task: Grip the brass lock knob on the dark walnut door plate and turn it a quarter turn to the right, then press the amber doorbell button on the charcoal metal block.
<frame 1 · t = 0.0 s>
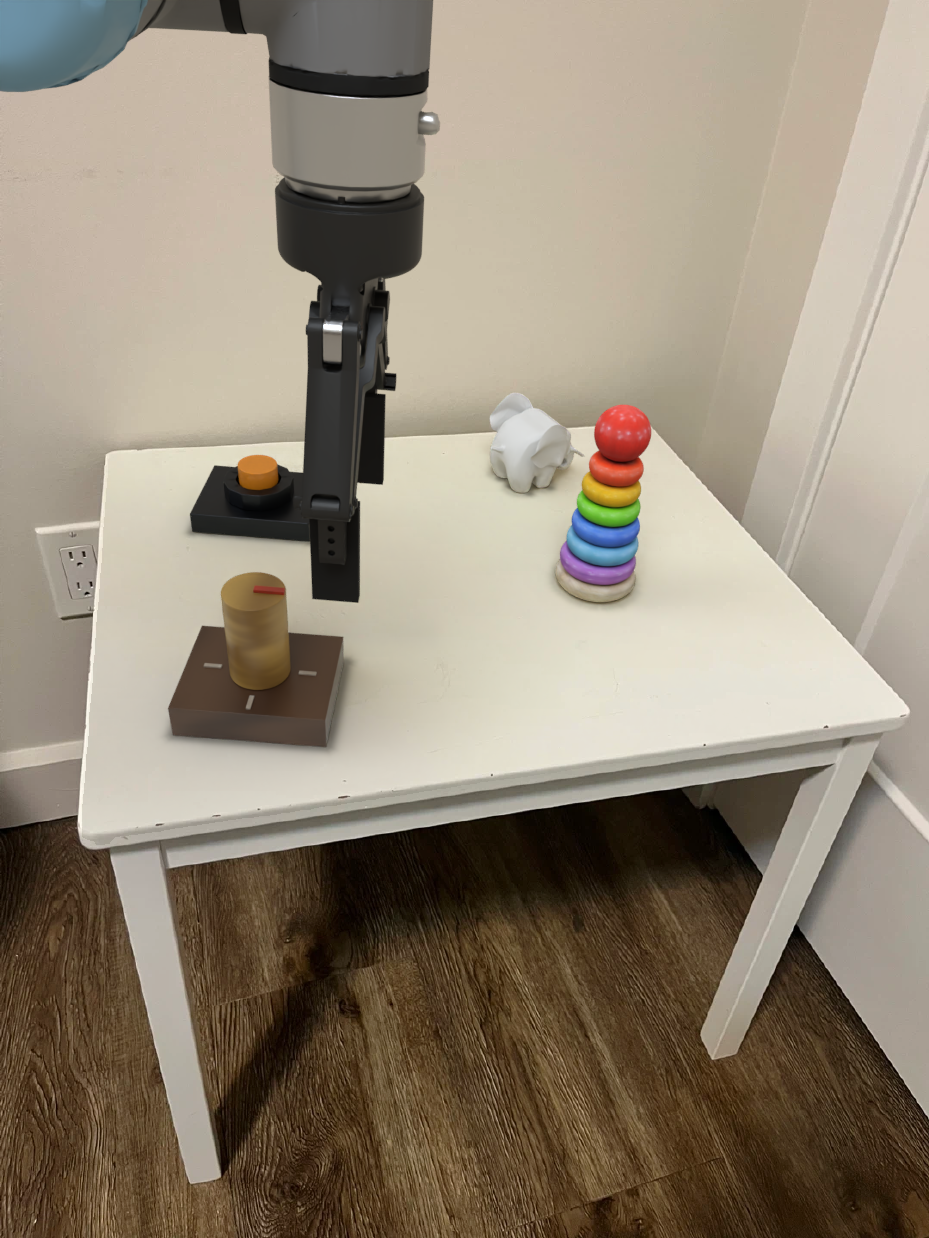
hand: (351, 534, 59), 20 cm above the table, tool pointing down, fingers open, 13 cm apart
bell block: (261, 511, 97), on the table
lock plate: (262, 697, 75), on the table
lock knob: (256, 630, 71), point 7 cm above the table, hinge at 0.0°
stacking toy: (593, 583, 91), on the table
bell button: (258, 472, 94), point 5 cm above the table, slide at 0.1 cm
elephant figurine: (529, 478, 107), on the table
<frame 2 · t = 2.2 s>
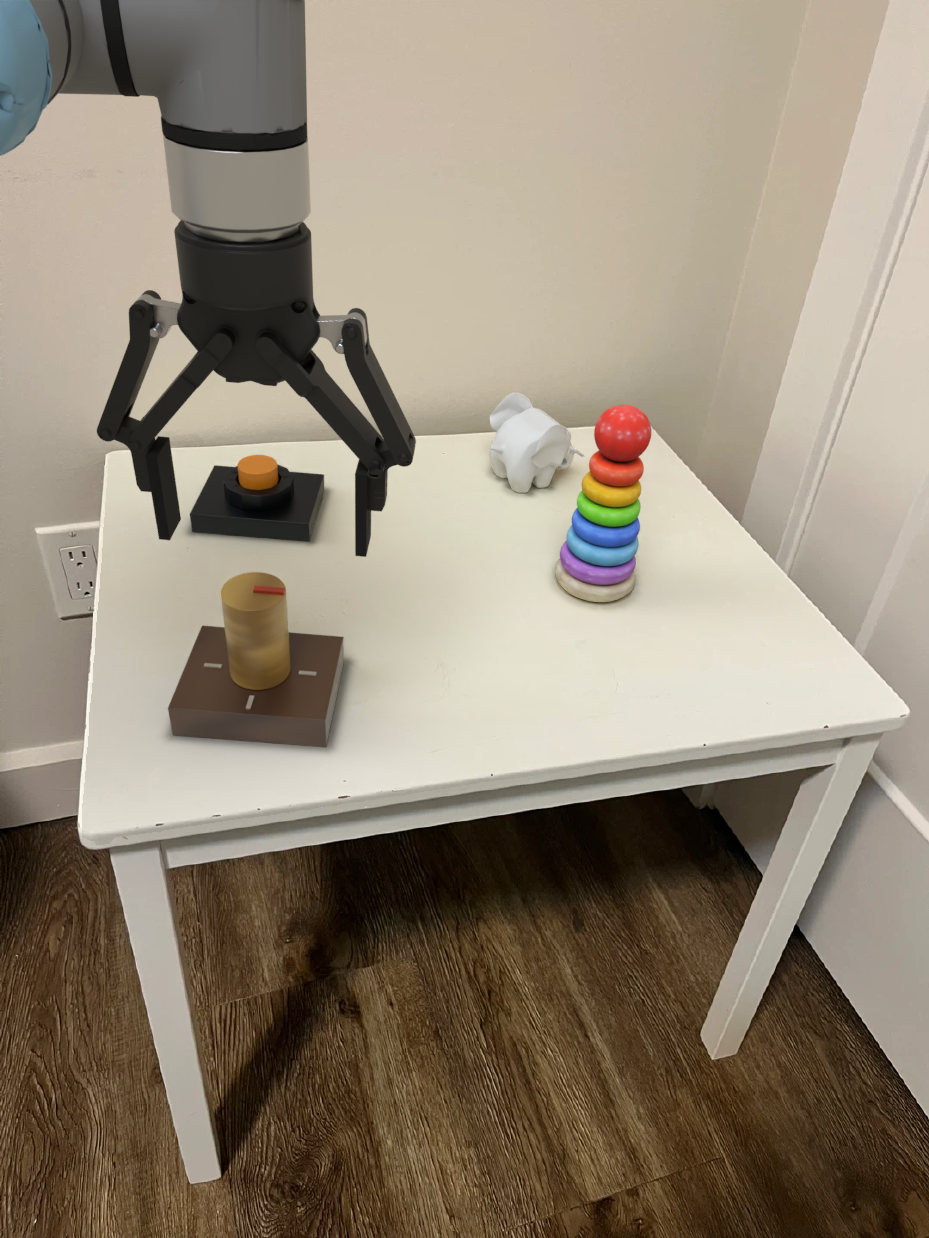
hand: (266, 538, 64), 17 cm above the table, tool pointing down, fingers open, 13 cm apart
nothing on the table moved.
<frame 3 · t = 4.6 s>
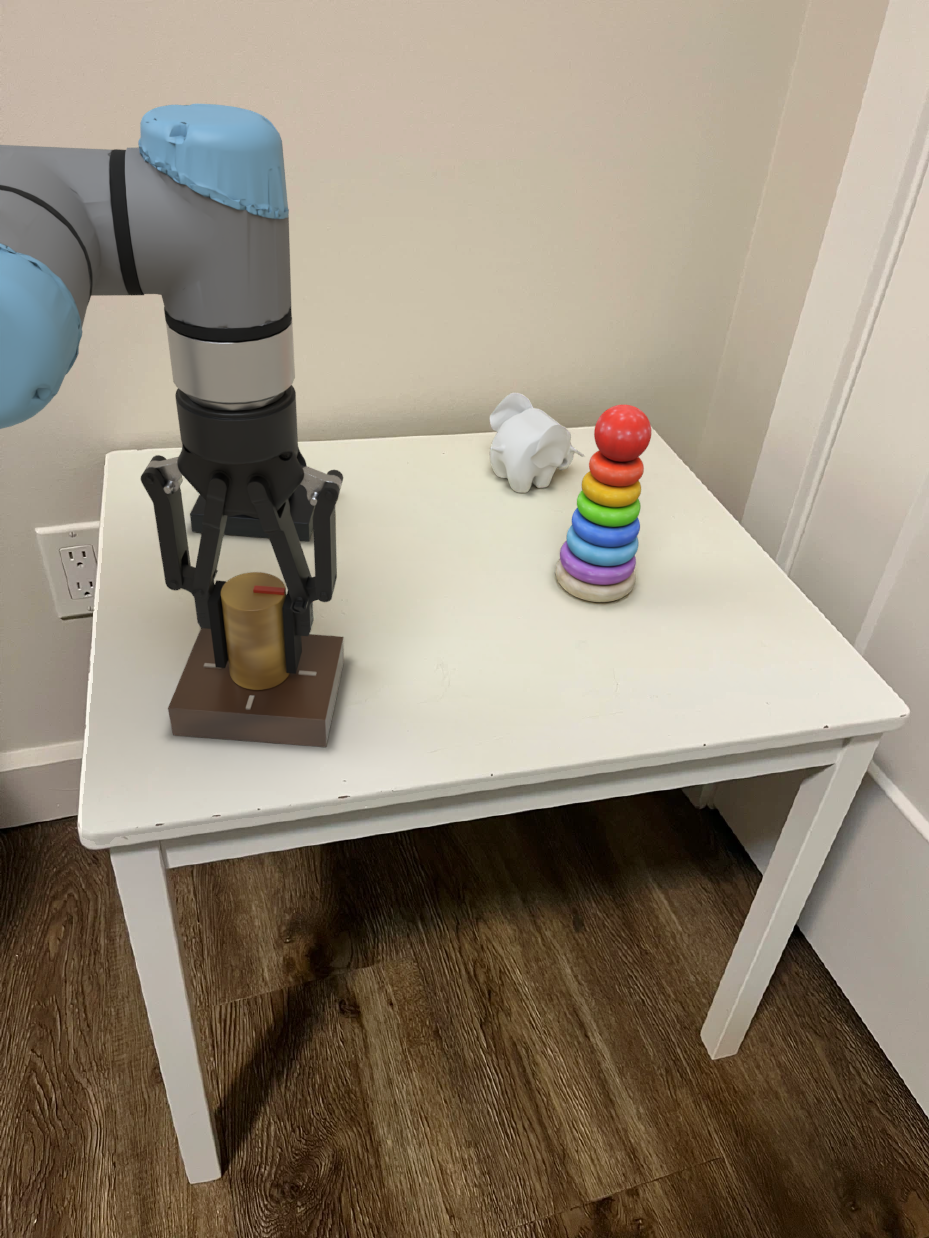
hand: (259, 658, 73), 4 cm above the table, tool pointing down, fingers closed on lock knob, 5 cm apart
lock knob: (256, 630, 71), point 7 cm above the table, hinge at 0.0°, touching gripper
everything else where it was.
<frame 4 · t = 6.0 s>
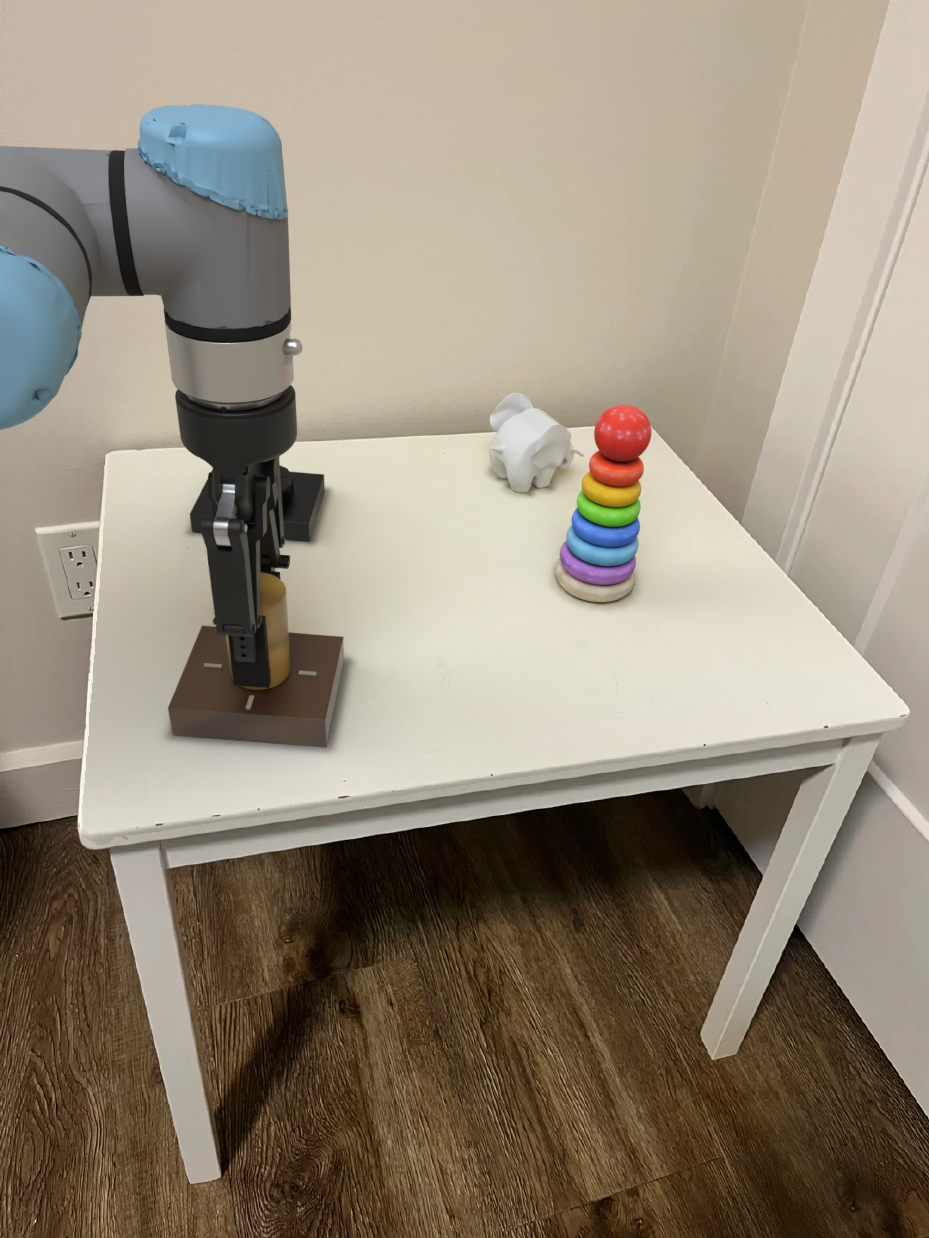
hand: (259, 659, 73), 4 cm above the table, tool pointing down, fingers open, 5 cm apart
lock knob: (256, 630, 71), point 7 cm above the table, hinge at -89.5°
everything else where it was.
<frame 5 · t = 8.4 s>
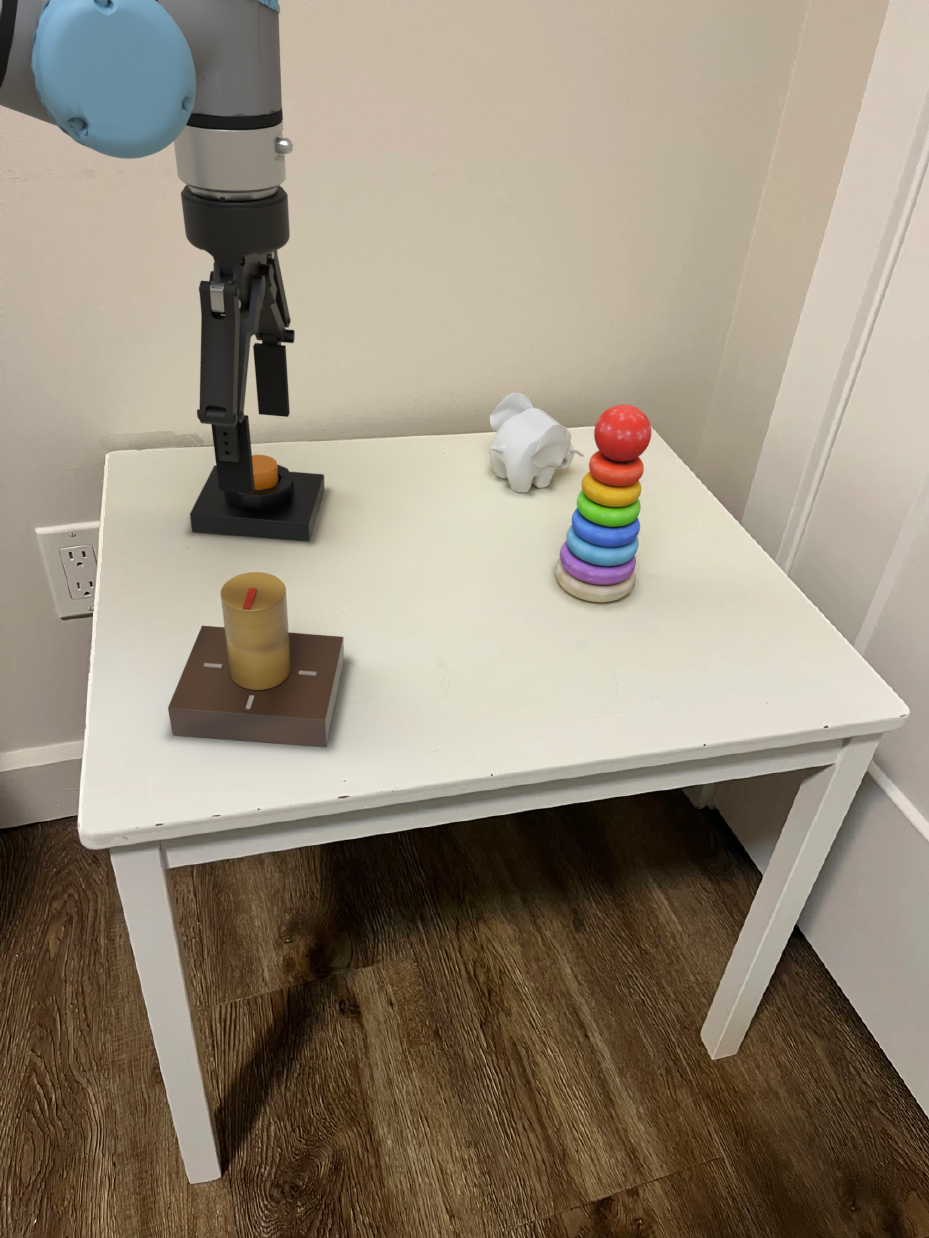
hand: (257, 449, 79), 14 cm above the table, tool pointing down, fingers open, 13 cm apart
nothing on the table moved.
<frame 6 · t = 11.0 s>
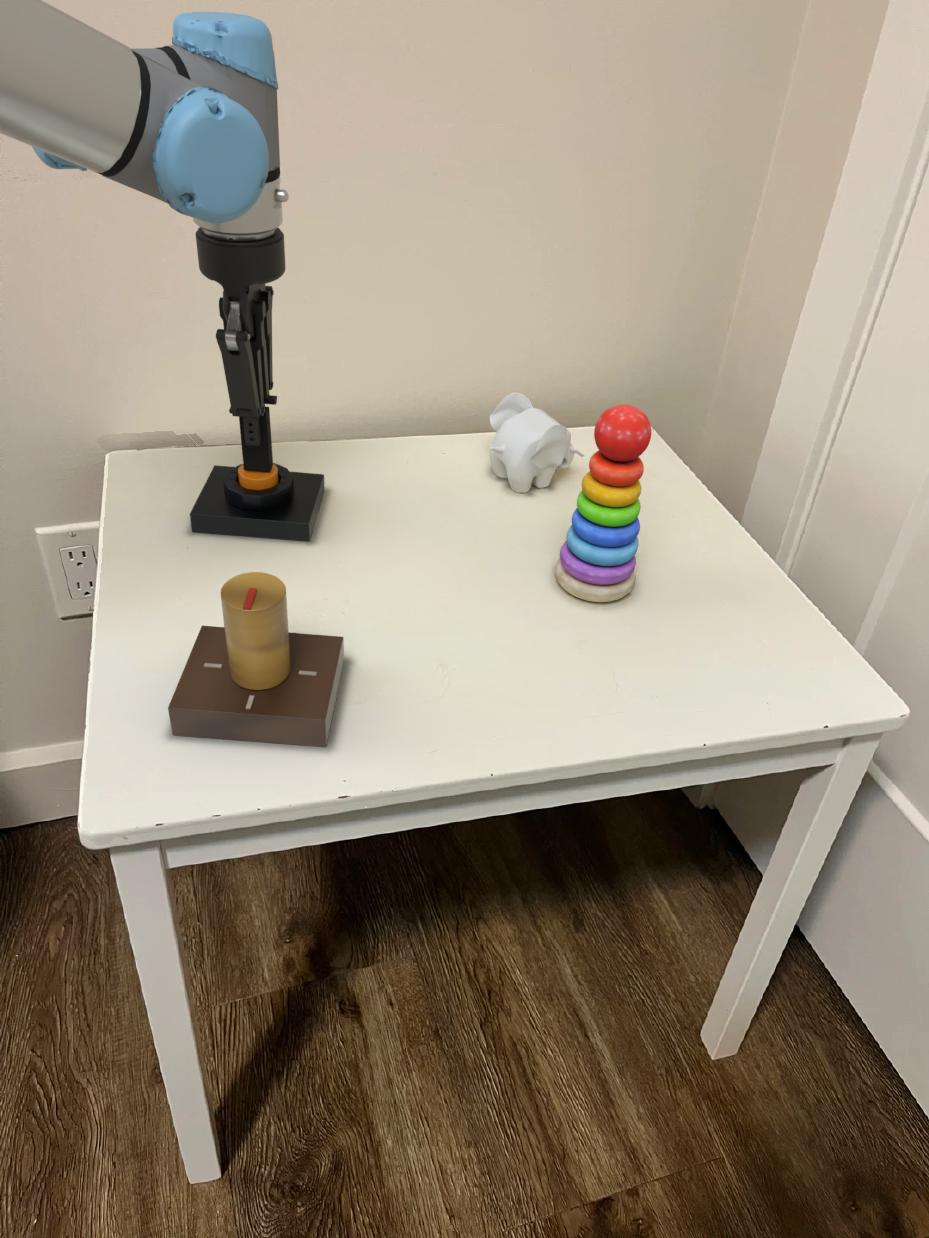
hand: (258, 467, 94), 5 cm above the table, tool pointing down, fingers closed
bell button: (258, 478, 94), point 4 cm above the table, slide at -0.5 cm, touching gripper
everything else where it was.
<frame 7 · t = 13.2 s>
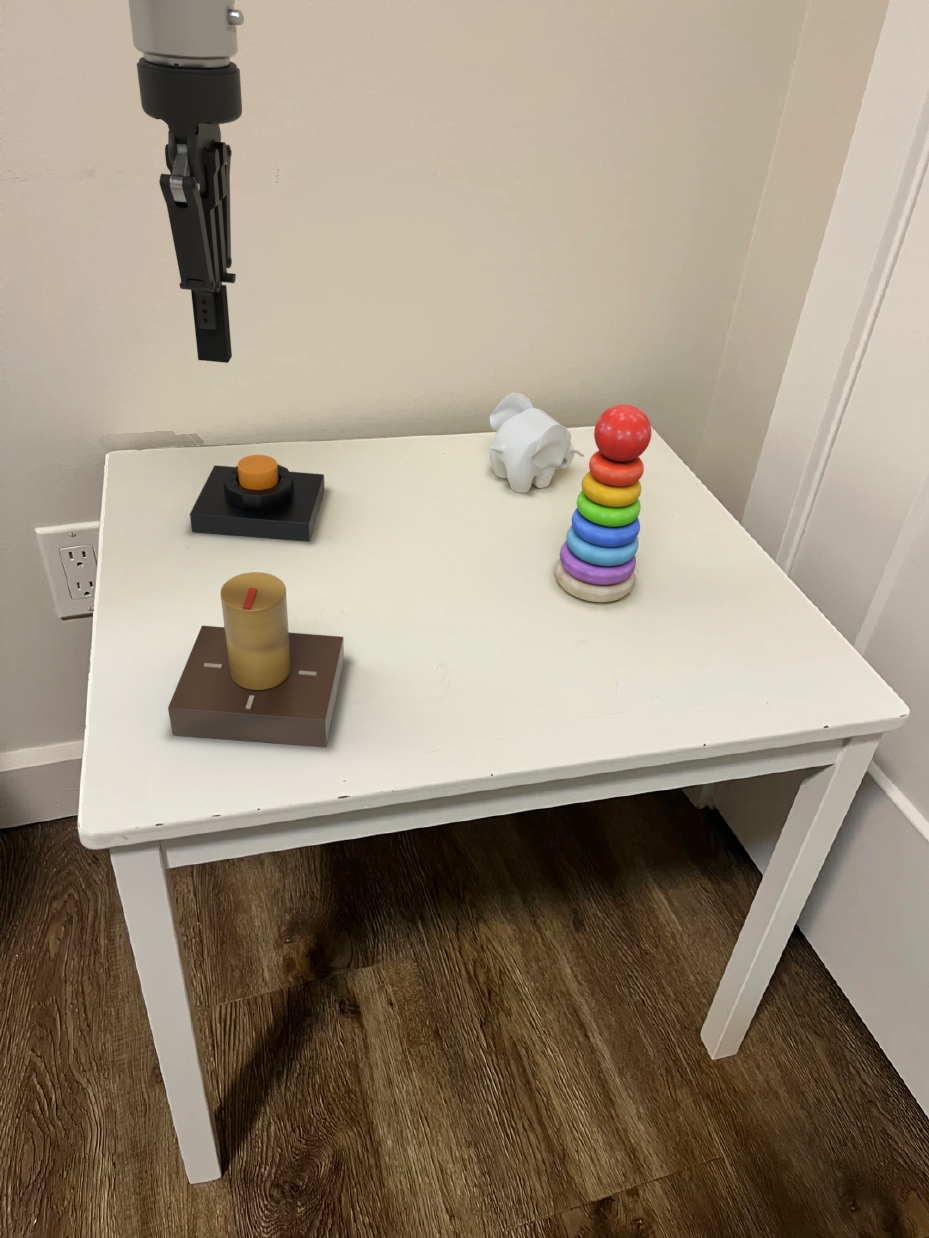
hand: (215, 358, 83), 18 cm above the table, tool pointing down, fingers closed
bell button: (258, 472, 94), point 5 cm above the table, slide at 0.1 cm
everything else where it was.
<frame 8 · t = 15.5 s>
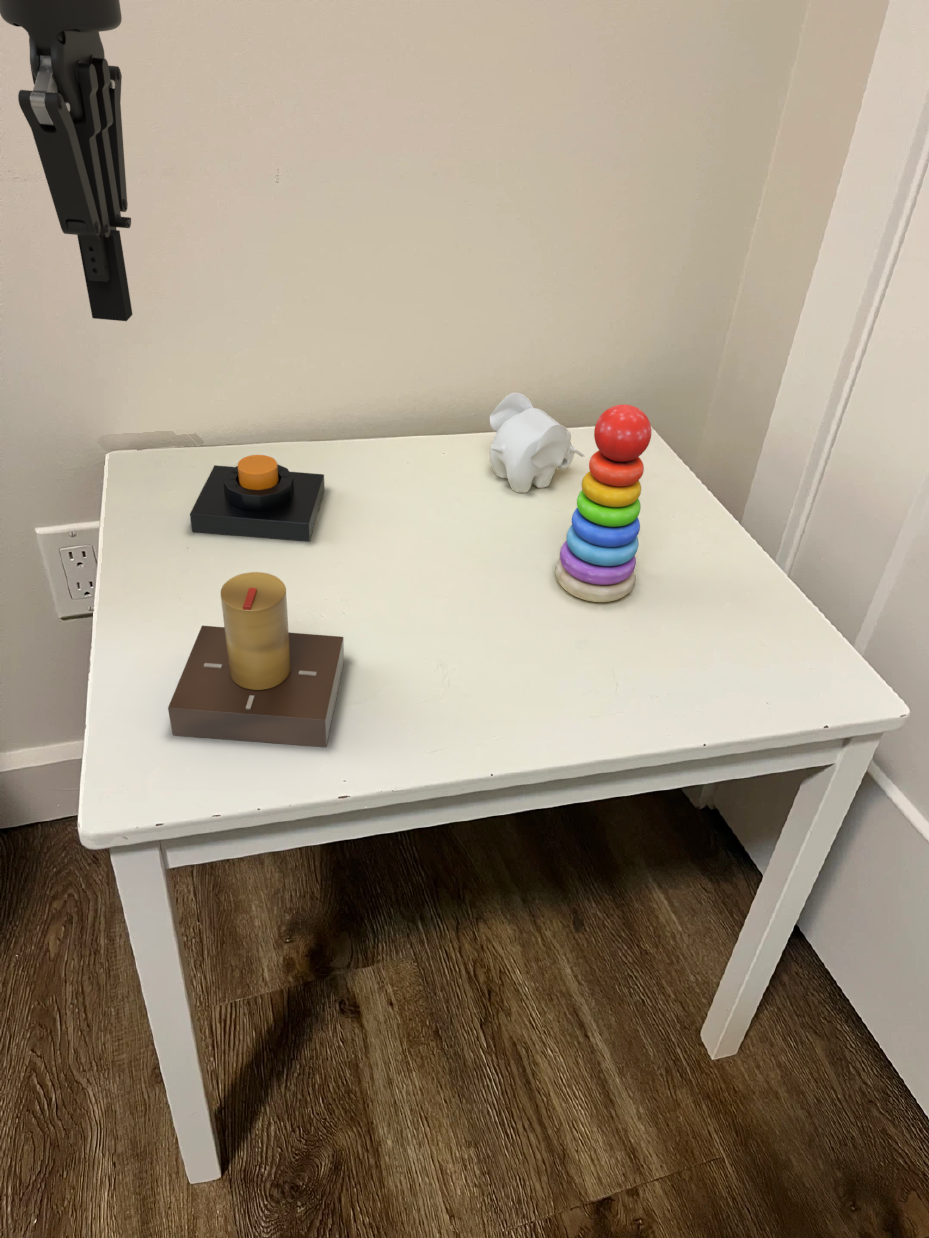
hand: (112, 316, 73), 24 cm above the table, tool pointing down, fingers closed
nothing on the table moved.
at the end: lock knob at -89° (first picture: +0°); bell button pushed in 1.0 cm at the most during the clip, back to where it started at the end; bell button slide at 0.1 cm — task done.
